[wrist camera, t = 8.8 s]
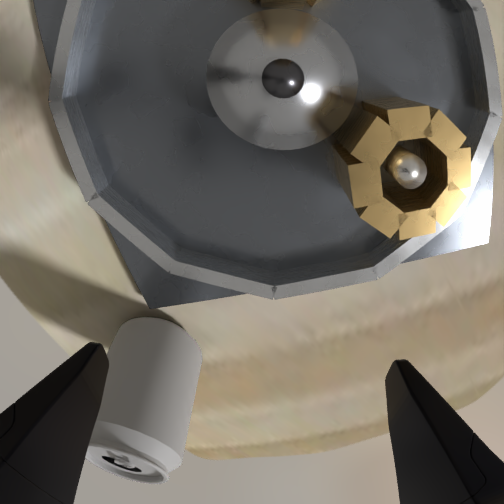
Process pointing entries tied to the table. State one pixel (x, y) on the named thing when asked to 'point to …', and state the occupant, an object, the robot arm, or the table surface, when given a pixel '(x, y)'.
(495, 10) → the table surface
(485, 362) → the table surface
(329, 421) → the table surface
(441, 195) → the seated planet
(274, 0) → the hollow octagonal wooden tube
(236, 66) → the domed metal knob cap
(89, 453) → the can
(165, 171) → the tray
